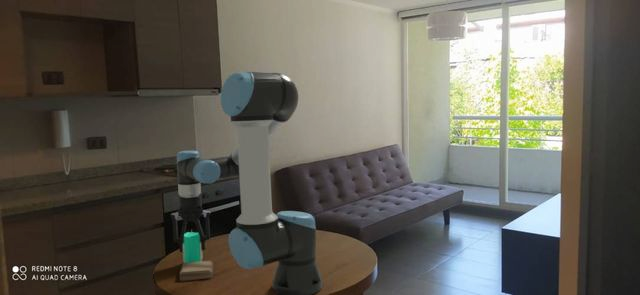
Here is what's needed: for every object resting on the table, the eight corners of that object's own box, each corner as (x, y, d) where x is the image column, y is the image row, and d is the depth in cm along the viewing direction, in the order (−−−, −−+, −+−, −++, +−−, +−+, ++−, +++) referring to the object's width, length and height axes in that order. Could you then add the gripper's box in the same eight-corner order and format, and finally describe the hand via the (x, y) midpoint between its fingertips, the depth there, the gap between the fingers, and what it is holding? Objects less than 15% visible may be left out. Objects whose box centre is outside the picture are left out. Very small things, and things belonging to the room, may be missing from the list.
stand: (211, 277, 148) (211, 270, 148) (179, 280, 147) (179, 273, 146) (212, 266, 158) (212, 259, 158) (182, 269, 156) (182, 262, 156)
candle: (181, 263, 162) (179, 230, 161) (195, 259, 166) (194, 226, 165) (190, 267, 158) (188, 233, 157) (205, 262, 162) (203, 229, 161)
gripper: (216, 191, 165) (219, 254, 167) (164, 194, 162) (167, 258, 164) (215, 195, 158) (218, 261, 160) (161, 199, 154) (165, 265, 157)
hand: (192, 259), depth 162 cm, fingers closed on candle, 5 cm apart
